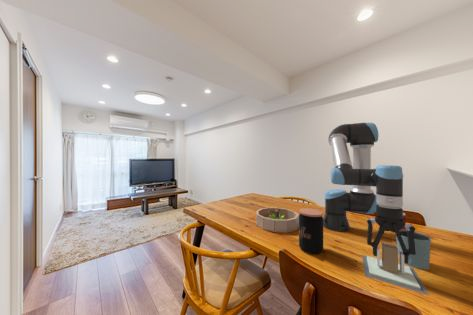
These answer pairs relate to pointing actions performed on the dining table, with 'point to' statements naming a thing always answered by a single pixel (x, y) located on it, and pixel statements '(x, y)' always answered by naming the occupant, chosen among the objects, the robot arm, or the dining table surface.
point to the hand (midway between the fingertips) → (389, 267)
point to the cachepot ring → (277, 220)
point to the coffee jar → (311, 230)
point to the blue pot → (417, 250)
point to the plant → (276, 215)
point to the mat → (394, 282)
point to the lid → (391, 267)
